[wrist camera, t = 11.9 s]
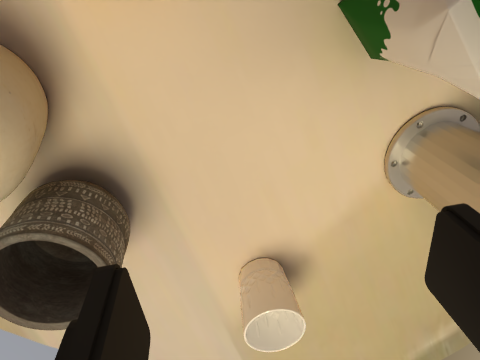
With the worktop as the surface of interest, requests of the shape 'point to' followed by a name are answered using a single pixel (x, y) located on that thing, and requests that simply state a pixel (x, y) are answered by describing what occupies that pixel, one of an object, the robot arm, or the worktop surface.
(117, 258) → the planter
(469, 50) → the milk carton
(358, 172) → the worktop surface
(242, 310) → the white cup
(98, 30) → the worktop surface
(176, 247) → the worktop surface
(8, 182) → the jug
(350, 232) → the worktop surface
